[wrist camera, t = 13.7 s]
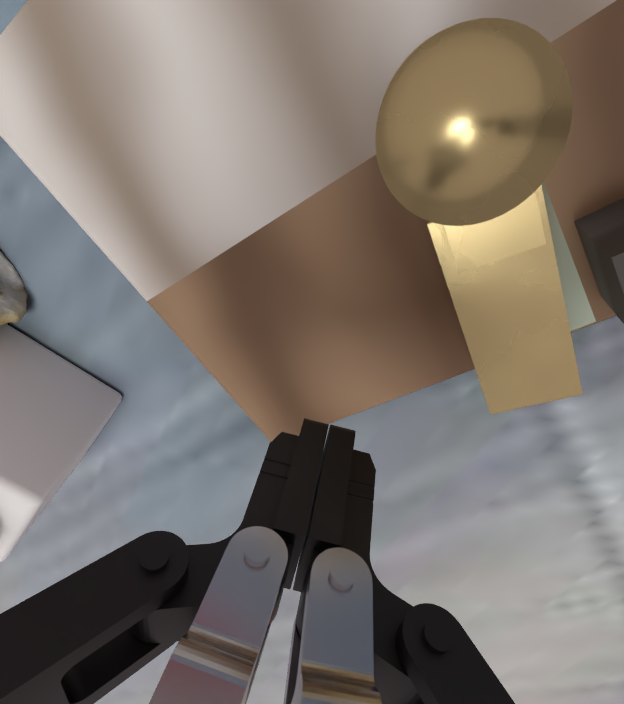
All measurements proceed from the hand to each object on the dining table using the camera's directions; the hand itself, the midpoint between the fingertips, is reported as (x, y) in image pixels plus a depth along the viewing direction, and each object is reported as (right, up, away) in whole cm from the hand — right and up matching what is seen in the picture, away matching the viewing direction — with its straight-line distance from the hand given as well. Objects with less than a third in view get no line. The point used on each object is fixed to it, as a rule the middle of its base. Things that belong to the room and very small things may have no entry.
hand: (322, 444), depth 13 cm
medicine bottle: (-15, 0, +12) cm, 19 cm away
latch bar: (+5, +7, +2) cm, 9 cm away
